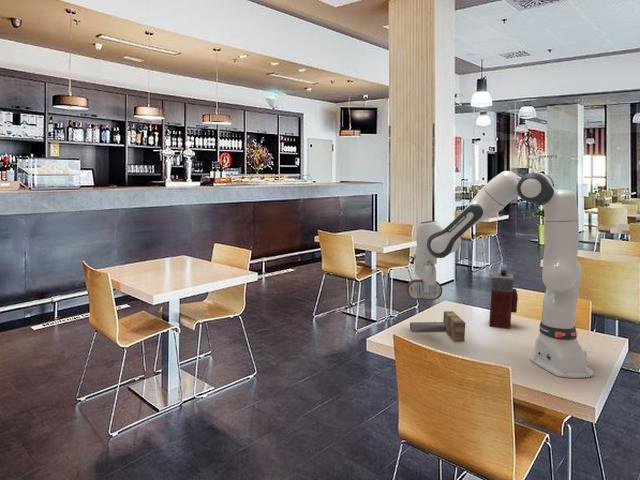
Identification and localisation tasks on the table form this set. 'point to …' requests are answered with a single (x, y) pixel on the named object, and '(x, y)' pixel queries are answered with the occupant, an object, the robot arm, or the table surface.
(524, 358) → the table surface
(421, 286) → the tin
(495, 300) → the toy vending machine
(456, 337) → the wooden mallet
